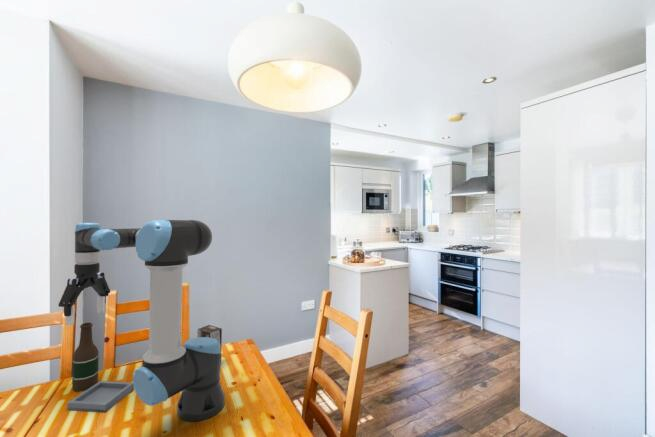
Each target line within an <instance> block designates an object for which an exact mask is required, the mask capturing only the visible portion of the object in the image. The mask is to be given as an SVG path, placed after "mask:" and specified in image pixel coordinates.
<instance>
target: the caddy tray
mask: <svg viewBox="0 0 655 437" xmlns="http://www.w3.org/2000/svg"><path fill="white" fill-rule="evenodd" d="M132 391H135V389H134V385H133V382H125V381H124V382H123V381H109V380H106V381H105V380H99V381H98V383H96V384H95V385H93V386H92V387H90V388H89V389H87V390H85V391H82V392H81V393H79V394H78V395H77V396H75V397H74V398H72V399H71V400H69V401H67V407H66V408H67V411H77V412H78V411H79V412H91V413H92V412H93V413H107V412H108V411H109V410H110V409H112V407H115V405H116V404H118V403H119V402H120V401H121V400H123V399H124V398H125V397H127V395H129V394H130V393H131V392H132Z"/></svg>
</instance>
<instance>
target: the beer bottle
mask: <svg viewBox="0 0 655 437" xmlns="http://www.w3.org/2000/svg"><path fill="white" fill-rule="evenodd" d="M79 328H80V334H79V336H80V337H79V344H78V346H77V347H76V348H75V351H74V352H73V354H72V364H71V365H72V368H71V369H72V374H71V375H72V378H71V386H72V387H71V388H72V389H73V390H74V391H75V392H84V391H86V390H87V389H89V388H90V387H92V386H93V385H95V384H96V383H98V382H99V350H98V347H97V346H96V345H95V343H94V341H93V329H92V328H93V323H92V322H84V323H81V324H80V326H79Z"/></svg>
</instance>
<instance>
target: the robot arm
mask: <svg viewBox="0 0 655 437" xmlns="http://www.w3.org/2000/svg"><path fill="white" fill-rule="evenodd" d="M74 229H75V230H74V271H73V272H74V274H75V278H68V279H67V283H66V286H65V289H64V291H63V294H62V296H61V298H60V301H58V305H57V306H58V307H59V308H60V307H62V308H64V309H63V310H64V312H63V315H64V317H65V321H64V322H65V325H68V326H74V325H75V311H76V310H75V308H76V306H73V305H74V304H75V302H76V301H77V300H78V298H79V297H80V295H81V293H82V292H83V291H84V290H85V289H88V288H90V287H91V288H92V289H93V290H94V291H95V292H96V293H97V295H98V296H96V313H97V314H103V313H106V311H105V309H106V308H105V306H106V298H107V297H108V296H109V294H110V293H111V289H110V287H109V284H108V282H107V280H106V278H105V272H100V261H101V251H112V250H114V249H125V248H135V251H136V254H137V257H138V258H139V259H140V260H141V261H144V266H145V268H147V269H148V270H149V271H150V274H149V275H150V276H149V277H150V278H149V279H150V280H149V281H150V282H149V284H150V285H149V286H150V287H149V318H148V319H149V322H148V323H149V326H148V350H147V351H146V352H145V353H144V354H142V366H139V367H138V368H136V369H135V370H134V372H133V374H132V383H133V385H134V391H135V393H136V396H137V397H138V399H139V400H140V401H141V403H143V404H145V405H146V406H150V407H153V406H154V407H155V406H157V405H158V404H160V403H163V402H166V401H168V399H170V398H171V397H174V396H176V395H177V394H179V393H181V394H180V396H179V400H178V402H177V405H176V413H177V417H178V418H179V419H181V420H183V421H186V422H201V421H204V420H207V419H211V418H212V417H214V416H216V415H217V414H219V412H221V411H222V409H224V407H225V400H226V398H225V397H226V396H225V393H224V389H223V387H222V384H221V381H220V379H221V365H220V353H221V354H222V350H221V351H220V343H219V341H218V340H216V339H214V338H208V337H198V338H197V337H192V338H189V339H187V340H185V342H184V343H183V345H182V342H181V341H182V306H183V304H182V302H183V301H182V300H183V298H182V297H183V293H182V292H183V270H184V269H185V267H186V266H187V265H188V264H189V257H190V256H195V255H196V256H197V255H200V254H202V253H204V252H205V251H206V250H208V248H209V247H210V246H211V244H212V241H213V233H212V230H211V228H210V227H209V226H208V225H207V224H206V223H204V222H203V221H200V220H194V219H187V220H185V219H157V220H149V221H148V222H145V223H144V224H143V225H142V226H141V228H140V227H136V228H101V224H100V223H99V222H78V223H76V224H75V228H74Z"/></svg>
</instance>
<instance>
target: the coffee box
mask: <svg viewBox="0 0 655 437" xmlns="http://www.w3.org/2000/svg"><path fill="white" fill-rule="evenodd" d="M222 332H223V329H222V328H221V327H217V326H215V325H210V324H208V325H205V326H203V327H200V328H197V337H196V338H198V337H208V338H214V339H216V340H218V341H219V343H220V351H221V353H220V366H221V365H222V346H223V345H222V342H223V341H222V340H223V339H222V338H223V337H222V334H223V333H222Z"/></svg>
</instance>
